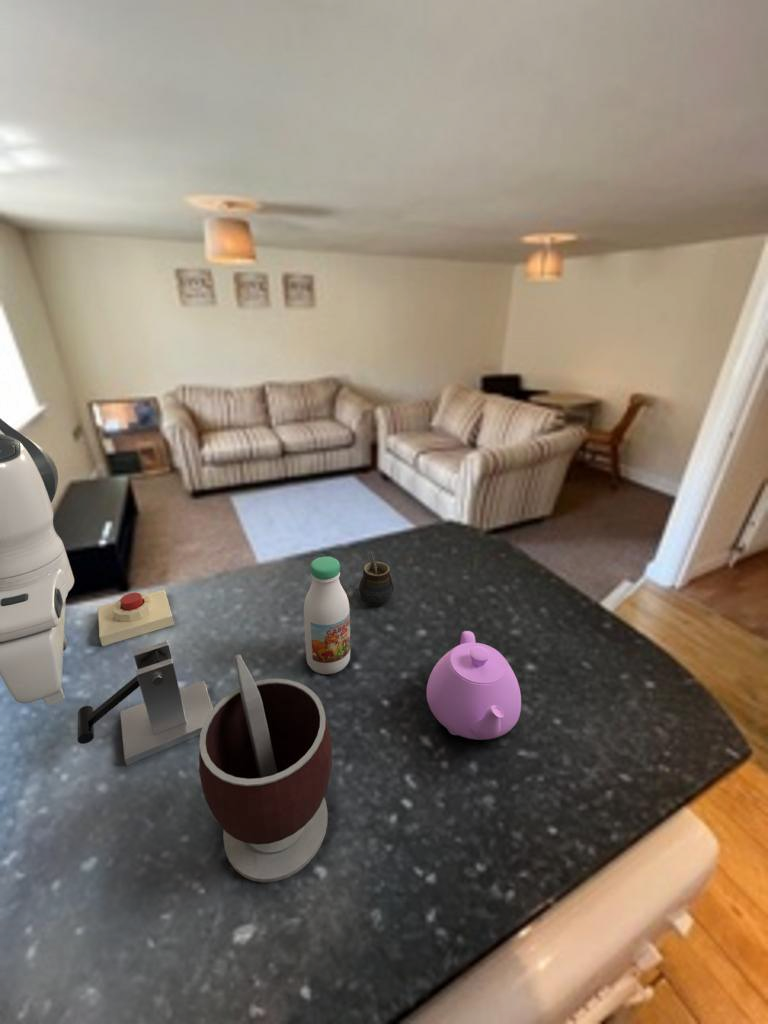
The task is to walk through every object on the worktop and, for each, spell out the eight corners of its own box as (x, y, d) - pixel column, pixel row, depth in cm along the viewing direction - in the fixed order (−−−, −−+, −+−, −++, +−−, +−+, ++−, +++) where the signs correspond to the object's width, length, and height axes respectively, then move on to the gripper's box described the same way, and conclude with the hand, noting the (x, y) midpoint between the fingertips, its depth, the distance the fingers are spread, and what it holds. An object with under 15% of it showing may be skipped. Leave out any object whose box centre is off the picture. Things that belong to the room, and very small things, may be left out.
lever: (87, 746, 59) (72, 740, 57) (87, 718, 62) (72, 711, 61) (172, 675, 61) (160, 667, 60) (167, 652, 65) (155, 644, 63)
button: (122, 613, 83) (120, 605, 83) (121, 603, 86) (119, 595, 85) (144, 607, 85) (142, 600, 84) (142, 597, 88) (140, 590, 87)
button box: (102, 646, 81) (96, 629, 79) (100, 615, 88) (95, 599, 86) (174, 625, 86) (170, 608, 85) (166, 597, 94) (162, 581, 92)
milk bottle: (298, 667, 77) (290, 569, 69) (320, 639, 84) (315, 546, 75) (337, 681, 75) (335, 581, 66) (357, 651, 81) (357, 556, 73)
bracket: (126, 765, 60) (103, 697, 55) (121, 717, 67) (101, 652, 62) (218, 727, 66) (205, 661, 61) (205, 686, 73) (192, 623, 68)
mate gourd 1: (354, 842, 53) (354, 724, 44) (236, 922, 46) (208, 799, 37) (301, 742, 64) (293, 633, 56) (201, 793, 57) (173, 677, 49)
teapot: (539, 779, 60) (556, 715, 55) (434, 780, 60) (442, 716, 54) (499, 668, 78) (510, 612, 73) (419, 668, 78) (424, 612, 72)
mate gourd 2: (368, 614, 91) (369, 573, 86) (352, 595, 96) (351, 555, 92) (399, 604, 94) (401, 563, 90) (381, 585, 100) (382, 547, 96)
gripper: (0, 544, 56) (33, 631, 62) (-31, 645, 40) (17, 748, 46) (61, 533, 59) (86, 617, 65) (53, 623, 43) (88, 722, 49)
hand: (57, 672), depth 55 cm, fingers open, 8 cm apart
